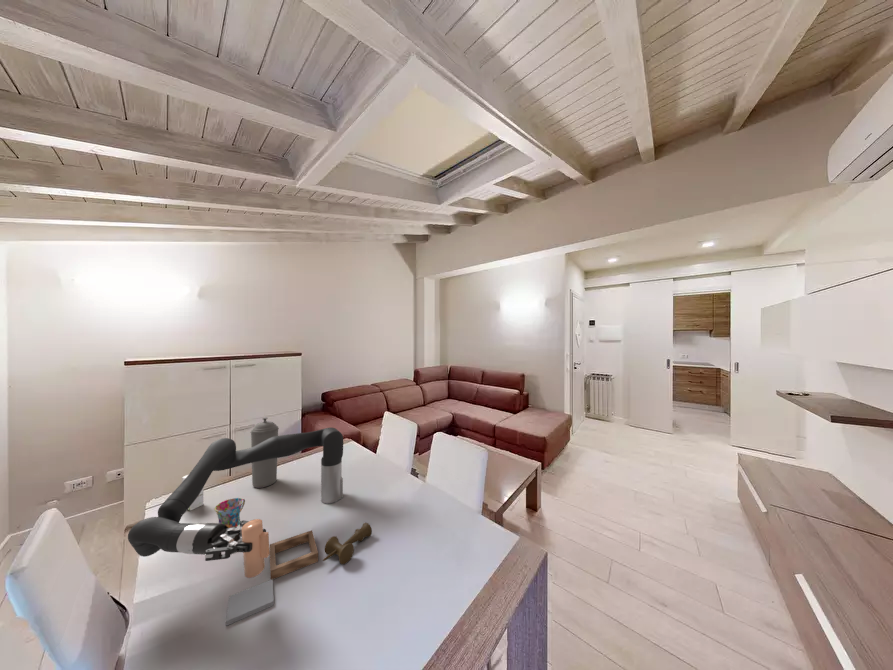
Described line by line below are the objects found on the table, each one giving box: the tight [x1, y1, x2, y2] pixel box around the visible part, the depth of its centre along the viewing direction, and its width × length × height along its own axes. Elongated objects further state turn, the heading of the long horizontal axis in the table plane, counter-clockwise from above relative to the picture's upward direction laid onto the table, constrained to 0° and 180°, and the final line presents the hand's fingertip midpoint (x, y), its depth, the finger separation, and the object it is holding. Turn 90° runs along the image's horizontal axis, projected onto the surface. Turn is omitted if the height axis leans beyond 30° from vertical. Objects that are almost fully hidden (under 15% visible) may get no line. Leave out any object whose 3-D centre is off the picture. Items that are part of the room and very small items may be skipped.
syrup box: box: [181, 474, 205, 512], centre depth 132 cm, size 6×6×14 cm
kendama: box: [322, 522, 373, 566], centre depth 104 cm, size 6×10×20 cm
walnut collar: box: [269, 529, 319, 580], centre depth 101 cm, size 14×14×3 cm
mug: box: [214, 497, 246, 528], centre depth 116 cm, size 12×9×11 cm
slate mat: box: [225, 579, 275, 626], centre depth 84 cm, size 11×9×1 cm
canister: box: [250, 416, 279, 489], centre depth 153 cm, size 13×13×35 cm
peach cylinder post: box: [241, 518, 270, 579], centre depth 84 cm, size 7×5×14 cm
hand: (258, 540), depth 84 cm, fingers closed on peach cylinder post, 5 cm apart
